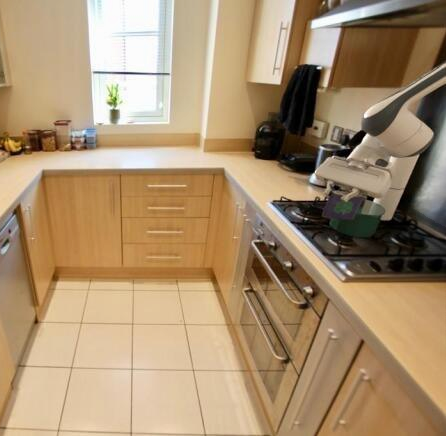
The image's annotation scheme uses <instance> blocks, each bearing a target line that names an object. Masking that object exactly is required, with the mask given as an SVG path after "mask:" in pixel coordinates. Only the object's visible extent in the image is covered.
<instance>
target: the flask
mask: <svg viewBox="0 0 446 436" xmlns="http://www.w3.org/2000/svg"><path fill="white" fill-rule="evenodd" d="M351 192H352V189H351V188H349V189H347V190H344V191H343V190H341V191H340V189H338V190H332V192H331V194H330V196H328V198H327V201H326V204H325V206H324V208H323V211H322V213H321V216H322V217H323V218H326V219H329V220H330V219H337V220H348V221H350V220H351V221H352V220H353V219H354V217H355V214H356V212H357V210H358V208H359V206H360V204H361V202H362V200H363V198H364V196H365V195H364V194H361V193H359V194H358V195H357V196H355V197H353V198H350V199H349V200H348V201H347V202H344V201H341V197H342V196H343V195H344V194H346V195H347V194H349V193H351Z"/></svg>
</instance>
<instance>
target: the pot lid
mask: <svg viewBox="0 0 446 436" xmlns="http://www.w3.org/2000/svg"><path fill="white" fill-rule="evenodd" d="M384 213H385V208H384V207H382V206H381V205H379V204H377V203H375V202H373V201H372V200H369V199H368V196H367V195H364V198H363V200H362V202H361V204H360V206H359V208H358V210H357V212H356V214H358V215H364V216H380V215H383V214H384Z"/></svg>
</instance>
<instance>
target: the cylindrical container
mask: <svg viewBox="0 0 446 436" xmlns="http://www.w3.org/2000/svg"><path fill="white" fill-rule="evenodd" d="M419 157H420V154H419V155H417V156H413V157H402V158H395V157H392V156H390V157H389V160H388V161H389V162H391V163H392V164H393V166H394V168H395V177H394V178H393V179H392V180H391V186H390V188H389V189H388V191H387V192H386V194H385V195H384V196H383V197H381V198H378V199H377V198H374V199H373V201H372V202H375V203H377V204H379V205H381V206H382V207H384V208H385V213H384V214H383V215H382V217H381V219H380V221H390V220H392V218H393V216H394V215H395V212H396V209H397V207H398V206H399V203H400V200H401V198H402V196H403V194H404V191H405V188H406V187H407V184H408V182H409V179H410V177H411V175H412V173H413V170H414V168H415V166H416V163H417V161H418V159H419Z"/></svg>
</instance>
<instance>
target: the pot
mask: <svg viewBox="0 0 446 436" xmlns="http://www.w3.org/2000/svg"><path fill="white" fill-rule="evenodd" d="M381 217H382V215H380V216H364V215H358V214H355V217H354V219H353V220H352V221H351V220H350V221H348V220H337V219H330V218H329V226H330V227H331V228H332V229H333V230H334V231H336V232H338V233H341V234H344V235H346V236H350V237H355V238H371V237H373V236H374V235H375V233H376V231H377V229H378V226H379V224H380V222H381V220H380V219H381Z"/></svg>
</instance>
